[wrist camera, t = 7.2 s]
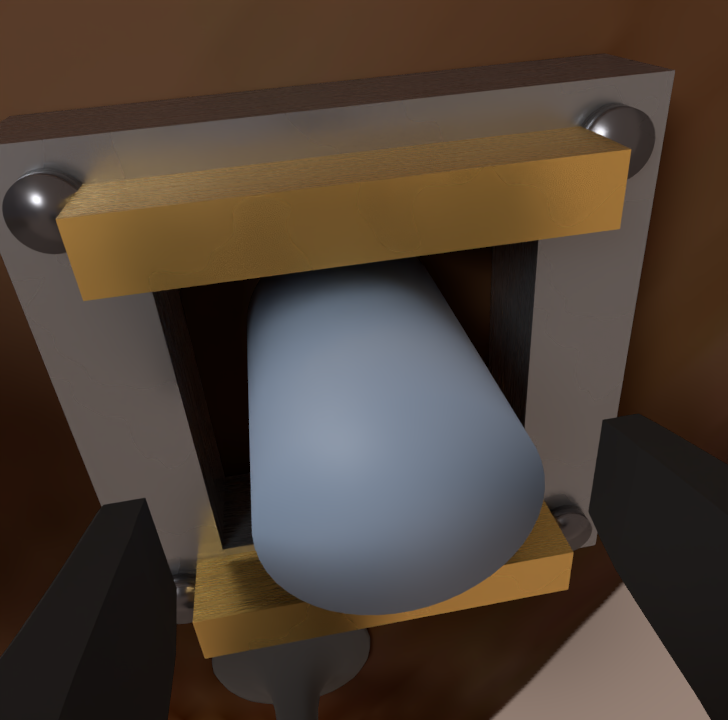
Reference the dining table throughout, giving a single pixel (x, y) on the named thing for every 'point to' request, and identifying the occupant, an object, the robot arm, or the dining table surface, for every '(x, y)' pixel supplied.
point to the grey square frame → (328, 250)
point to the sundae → (294, 672)
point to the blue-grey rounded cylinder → (379, 443)
